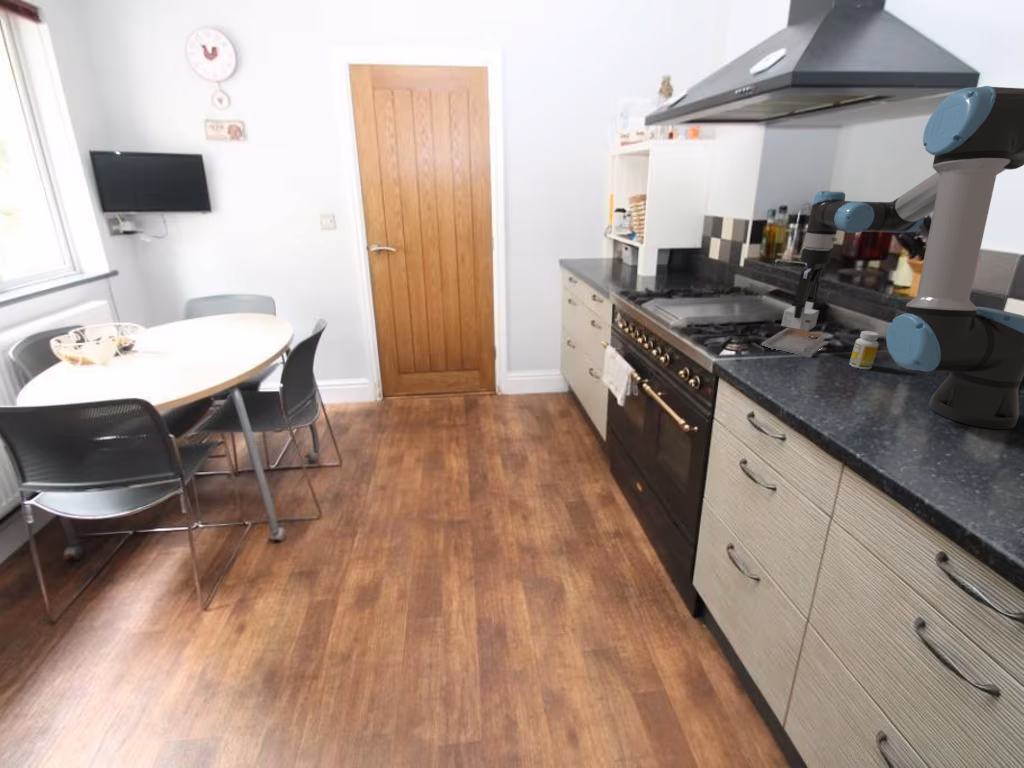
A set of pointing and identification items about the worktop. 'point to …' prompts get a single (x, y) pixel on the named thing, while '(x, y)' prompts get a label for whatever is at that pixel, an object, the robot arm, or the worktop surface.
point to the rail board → (796, 342)
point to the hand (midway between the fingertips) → (799, 325)
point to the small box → (808, 318)
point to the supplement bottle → (864, 350)
